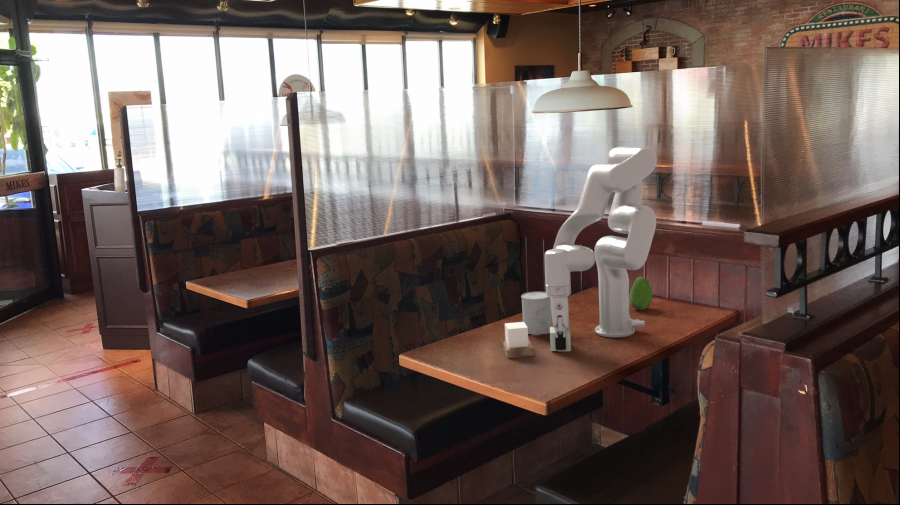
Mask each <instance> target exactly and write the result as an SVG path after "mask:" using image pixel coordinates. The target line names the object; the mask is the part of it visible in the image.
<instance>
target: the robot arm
mask: <svg viewBox="0 0 900 505" xmlns="http://www.w3.org/2000/svg"><path fill="white" fill-rule="evenodd" d="M657 162H658V157H657V153H656V151H655V150H654V149H652V148H651V147H647V146H628V145H627V146H626V145H625V146H624V145H623V146H616V147H614V148H612V149H611V150H609V152H608V155H607V163H597V164H596V163H595V164H593V165H592V166H591V167H590V168H589V169H588V172H587V174H586V178H585V181H584V184H583V188H582V191H581V194H580V198H579V201H578V203H577V207H576V209H575V211H574V212H573V213H572V214H570V216H568V218H567V219H566V220H565V222H563V224H562V225H561V226H560V228H559V230H558V232H557V234H556V237H555V241H554V244H553V248H552V249H548V250H546V251H545V252H544V256H543V258H544V277H545V280H544V281H545V282H544V283H545V292H546V295H547V296H549V297H550V308H551V324H552V327H553V328H555V329H556V337H555V348H556V350H566V337H565V327H567V328H570V313H569V312H570V311H569V310H570V308H569V298H568V297H569V296H570V295H572V290H571V289H572V288H571V285H572V284H571V272H585V271H588V270H589V269H591V268H592V267H593V266H594V265H595V263H596V268H597V274H598V275H597V276H598V277H597V278H598V279H597V280H598V307H599V309H598V313H599V325H597V326H595V328H594V332H595V334H596V335H597V336H601V337H605V338H612V339H615V338H625V337H630V336H632V335H634V334H635V330H636V329H635V327H636V328H637V327H639V328H642V327H643V328H644V327H646V323H645V320H640V319H632V318H631V316H630V299H629V296H630V278H629V274H628V271H637V270H640V269H641V268H642V267H644V265H645V264H646V262H647V259H648V256H649V253H650V250H651V246H652V242H653V238H654V236H655V231H656V228H657V216H656V213H655V211H654V210H653V208H651V207H650V206H646V205H643V204H642V199H643V194H644V186H643V182H642V180H644V179H645V178H646V177H647V178H648V176H649V175H651V173H652V172H653V171H654V170H655V169H656V166H657ZM612 192H613V193H614V196H613V198H612V199H613V200H612V202H611V206H610V211H609V213H608V218H607V225H608V228H609V229H610V230H611V231H612V232H614V233H615V232H616V233H619V234H624V235H625V234H626V235H627V237H621V236H615V235H606V236H603V237H601V238H599V239H598V240H597V242H596V243H595V246H594V251H593V249H591V247H587V246H584V245H579V244H575V243H576V242H575V241H576V239H577V237H578V236H579V234H580V233H581V232H582V231H583V229H585V228H587V227H588V226H591V225H592V224H594V223H596V222H598V221H601V220H602V219H603V218H604V216H605V213H606V209H607V206H608V203H609V200H610V196H611V193H612ZM564 326H565V327H564ZM562 329H563V331H562ZM557 330H558V331H557Z"/></svg>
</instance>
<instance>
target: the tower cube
mask: <svg viewBox="0 0 900 505" xmlns="http://www.w3.org/2000/svg"><path fill="white" fill-rule="evenodd" d="M504 339H505V341H506V344H507V346H508V347H509V348H517V347H528V339H529V335H528V327H527V326H526V324H525V323H524V322H523V321H519V322H518V321H517V322H508V323H507V322H506V323H504Z"/></svg>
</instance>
